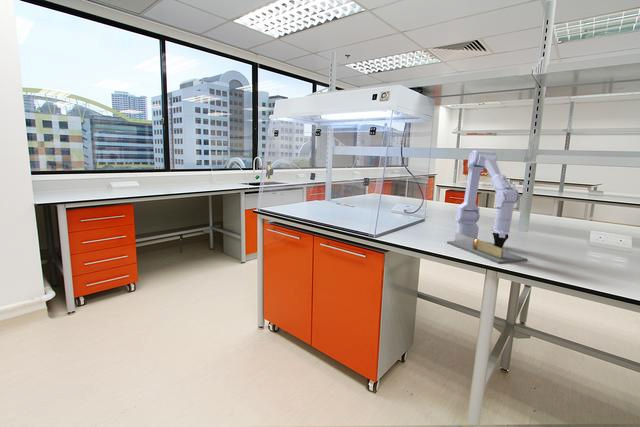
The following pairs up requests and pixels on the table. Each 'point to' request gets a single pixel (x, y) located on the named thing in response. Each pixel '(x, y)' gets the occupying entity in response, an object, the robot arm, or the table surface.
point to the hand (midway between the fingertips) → (497, 250)
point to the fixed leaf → (464, 240)
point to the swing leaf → (488, 248)
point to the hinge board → (505, 258)
